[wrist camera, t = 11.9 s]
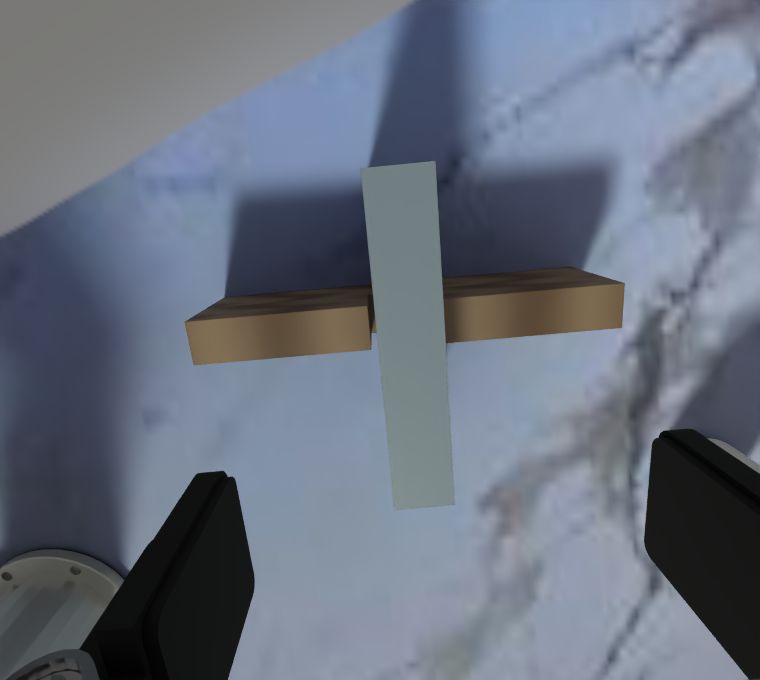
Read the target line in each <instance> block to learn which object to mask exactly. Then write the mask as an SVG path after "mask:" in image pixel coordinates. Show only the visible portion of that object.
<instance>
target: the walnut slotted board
mask: <svg viewBox="0 0 760 680" xmlns="http://www.w3.org/2000/svg"><path fill="white" fill-rule="evenodd" d="M442 286H443V304H444V322H445V339H446V343H453V342H465V341H476V340H488V339H499V338H511V337H522V336H534V335H545V334H556V333H568V332H579V331H591V330H602V329H614V328H622V319H623V303H624V287H625V283H622V282H619V281H616V280H612V279H609V278H606V277H602V276H599V275H596V274H593V273H589V272H586V271H583V270H579V269H576V268H573V267H565V268H554V269H542V270H531V271H520V272H508V273H497V274H486V275H474V276H463V277H452V278H442ZM185 326H186V331H187V336H188V341H189V345H190V350H191V355H192V360H193V364H194V365H201V364H213V363H224V362H236V361H247V360H259V359H270V358H281V357H293V356H304V355H316V354H327V353H339V352H350V351H362V350H371V333H377V329H376V319H375V309H374V299H373V289H372V285H361V286H350V287H339V288H327V289H316V290H305V291H293V292H282V293H271V294H260V295H248V296H237V297H226V298H223V299H221V300H220V301H218V302H216V303H215V304H213V305H211V306H210V307H208V308H207V309H205V310H203V311H202V312H200V313H198V314H197V315H195V316H194V317H192V318H190V319H189V320H187V321H185Z"/></svg>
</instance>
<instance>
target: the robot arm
mask: <svg viewBox="0 0 760 680" xmlns="http://www.w3.org/2000/svg"><path fill="white" fill-rule="evenodd" d="M644 543H645V548H646V551H647V553H648V555H649V557H650V558H651V560H652V561H653V562H654V563H655V564H656V566H657V567H658V568H659V569H660V571H661V572H662V573H663V574H664V576H665V577H666V578H667V579H668V580H669V582H670V583H671V584H672V585H673V587H674V588H675V589H676V590H677V591H678V593H679V594H680V595H681V596H682V598H683V599H684V600H685V601H686V603H687V604H688V605H689V606H690V607H691V609H692V610H693V611H694V612H695V614H696V615H697V616H698V617H699V619H700V620H701V621H702V622H703V623H704V625H705V626H706V627H707V628H708V630H709V631H710V632H711V633H712V634H713V636H714V637H715V638H716V639H717V641H718V642H719V643H720V644H721V646H722V647H723V648H724V649H725V650H726V652H727V653H728V654H729V655H730V657H731V658H732V659H733V660H734V661H735V663H736V664H737V665H738V666H739V668H740V669H741V670H742V671H743V673H744V674H745V675H746V676H747V677H748V679H749V680H760V474H759V473H758V472H757V471H755V470H754V469H752V468H751V467H749V466H748V465H746V464H745V463H743V462H742V461H740V460H739V459H737V458H736V457H734V456H733V455H731V454H730V453H728V452H727V451H725V450H724V449H722V448H721V447H719V446H718V445H716V444H715V443H713V442H712V441H710V440H709V439H707V438H706V437H704V436H703V435H701V434H700V433H698V432H697V431H695V430H693V429H680V430H669V431H663V432H661V433H660V435H659V438H656V439H654V441H653V443H652V451H651V463H650V475H649V487H648V499H647V511H646V523H645V535H644ZM254 584H255V581H254V572H253V567H252V562H251V557H250V552H249V546H248V541H247V536H246V531H245V526H244V521H243V516H242V511H241V506H240V500H239V495H238V490H237V485H236V481H235V479H234V477H227V474H226V473H225V472H224V471H216V472H205V473H197V474H196V475H195V477H194V478H193V480H192V481H191V483H190V484H189V486H188V487H187V489H186V490H185V492H184V493H183V495H182V496H181V498H180V500H179V501H178V503H177V504H176V506H175V507H174V509H173V510H172V512H171V513H170V515H169V516H168V518H167V519H166V521H165V523H164V524H163V526H162V527H161V529H160V530H159V532H158V533H157V535H156V536H155V538H154V539H153V540H152V541H151V542H150V543H149V544H148V545H147V547H146V548H145V550H144V551H143V553H142V554H141V556H140V557H139V559H138V560H137V562H136V563H135V565H134V566H133V568H132V569H131V571H130V573H129V574H128V576H127V577H126V579H125V580H124V579H123V578H122V577H121V576H120V575H118V574H117V573H116V572H115V571H114V570H113V569H111V568H110V567H108V566H107V565H105V564H104V563H102V562H100V561H98V560H96V559H94V558H91V557H89V556H86V555H83V554H80V553H76V552H72V551H65V550H59V549H45V550H37V551H31V552H27V553H25V554H22V555H19V556H16V557H15V558H13V559H11V560H10V561H8V562H6V563H5V564H4V565H3V566H2V567H1V568H0V680H228V677H229V674H230V670H231V667H232V664H233V660H234V657H235V654H236V650H237V647H238V643H239V640H240V637H241V633H242V630H243V627H244V623H245V620H246V617H247V613H248V610H249V607H250V603H251V600H252V597H253V593H254Z"/></svg>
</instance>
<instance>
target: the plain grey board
mask: <svg viewBox="0 0 760 680" xmlns="http://www.w3.org/2000/svg"><path fill="white" fill-rule="evenodd" d="M360 169H361V179H362V189H363V199H364V209H365V219H366V229H367V239H368V249H369V259H370V269H371V279H372V289H373V299H374V309H375V319H376V329H377V340H378V350H379V360H380V370H381V380H382V390H383V400H384V410H385V420H386V430H387V440H388V450H389V460H390V470H391V480H392V490H393V500H394V510H403V509H414V508H425V507H436V506H447V505H455V499H454V481H453V464H452V446H451V428H450V410H449V393H448V375H447V357H446V339H445V322H444V304H443V286H442V268H441V251H440V233H439V215H438V197H437V180H436V162H435V161H429V162H419V163H409V164H399V165H389V166H378V167H368V168H360Z"/></svg>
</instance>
